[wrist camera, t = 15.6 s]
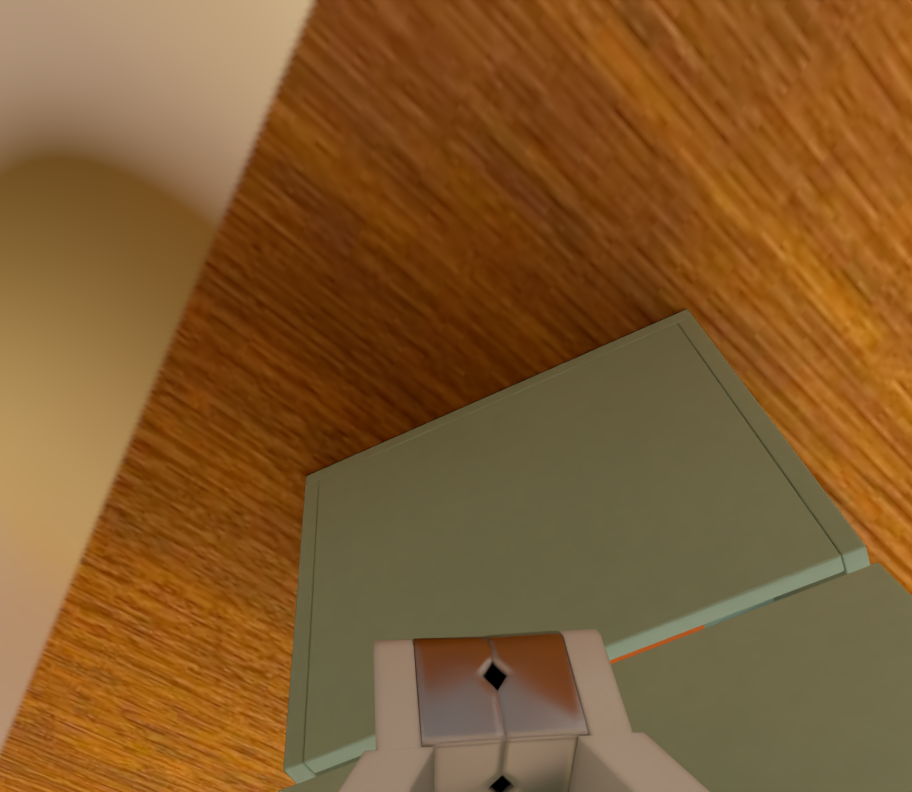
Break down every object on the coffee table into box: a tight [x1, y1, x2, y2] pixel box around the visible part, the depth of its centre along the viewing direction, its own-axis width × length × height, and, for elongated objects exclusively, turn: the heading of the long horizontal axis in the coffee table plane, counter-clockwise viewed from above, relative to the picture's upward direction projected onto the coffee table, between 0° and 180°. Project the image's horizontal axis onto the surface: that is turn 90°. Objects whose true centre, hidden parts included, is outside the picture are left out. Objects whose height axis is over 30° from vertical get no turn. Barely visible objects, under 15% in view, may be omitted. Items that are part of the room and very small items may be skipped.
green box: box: [284, 309, 870, 784], centre depth 26 cm, size 15×13×10 cm
